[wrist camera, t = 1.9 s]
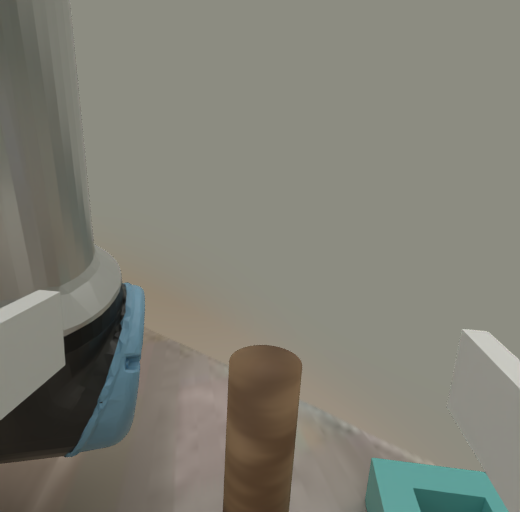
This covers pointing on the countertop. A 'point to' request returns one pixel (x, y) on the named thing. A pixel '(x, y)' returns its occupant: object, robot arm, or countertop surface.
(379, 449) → the countertop surface
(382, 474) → the socket
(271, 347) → the dowel
